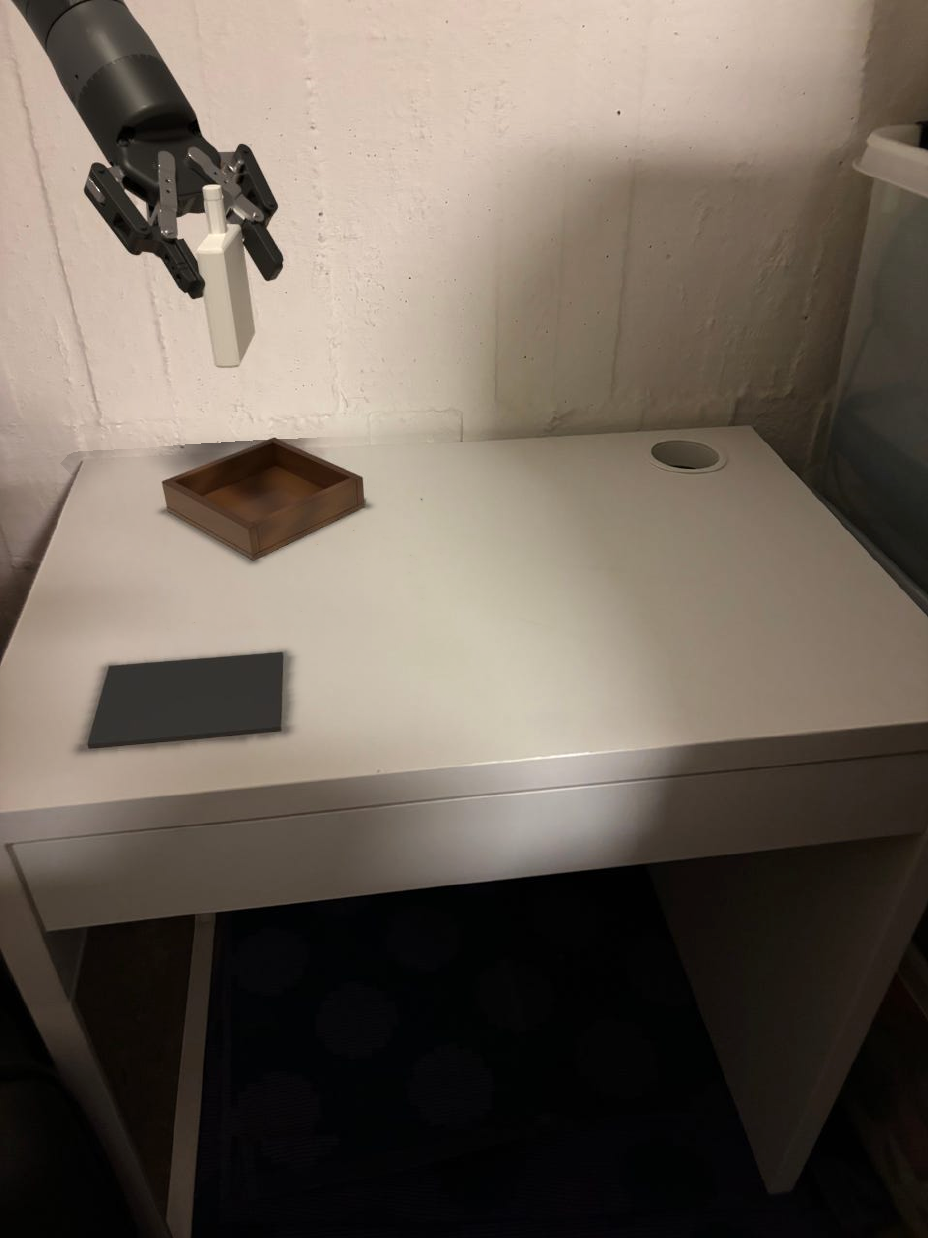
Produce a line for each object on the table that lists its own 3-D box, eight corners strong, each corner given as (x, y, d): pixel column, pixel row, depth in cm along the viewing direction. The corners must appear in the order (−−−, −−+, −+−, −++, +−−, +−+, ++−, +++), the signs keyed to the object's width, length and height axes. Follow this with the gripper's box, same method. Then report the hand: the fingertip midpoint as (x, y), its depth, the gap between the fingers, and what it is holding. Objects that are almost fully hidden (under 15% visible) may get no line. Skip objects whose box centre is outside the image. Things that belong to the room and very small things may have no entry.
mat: (88, 748, 58) (86, 743, 58) (110, 670, 65) (108, 665, 65) (280, 731, 60) (280, 726, 60) (283, 656, 66) (282, 651, 66)
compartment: (253, 560, 77) (248, 529, 75) (167, 510, 84) (161, 481, 82) (364, 506, 84) (363, 476, 83) (277, 465, 91) (274, 436, 90)
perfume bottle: (232, 334, 77) (208, 176, 70) (256, 333, 77) (234, 175, 70) (213, 368, 70) (185, 197, 63) (239, 367, 70) (214, 197, 63)
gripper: (40, 55, 62) (172, 271, 62) (219, 45, 71) (333, 235, 71) (22, 135, 68) (143, 332, 68) (189, 117, 77) (295, 292, 77)
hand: (239, 282), depth 70 cm, fingers closed on perfume bottle, 6 cm apart
